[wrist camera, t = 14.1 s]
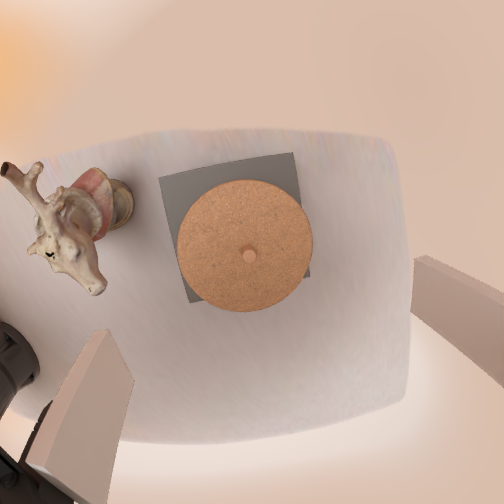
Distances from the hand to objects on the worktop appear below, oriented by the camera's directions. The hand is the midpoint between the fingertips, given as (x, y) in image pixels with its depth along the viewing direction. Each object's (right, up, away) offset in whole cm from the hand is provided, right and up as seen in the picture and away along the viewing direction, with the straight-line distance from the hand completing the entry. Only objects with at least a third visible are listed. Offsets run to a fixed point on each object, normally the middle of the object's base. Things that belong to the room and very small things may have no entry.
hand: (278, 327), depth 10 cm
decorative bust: (-21, +8, +25) cm, 34 cm away
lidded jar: (-3, +5, +18) cm, 19 cm away
